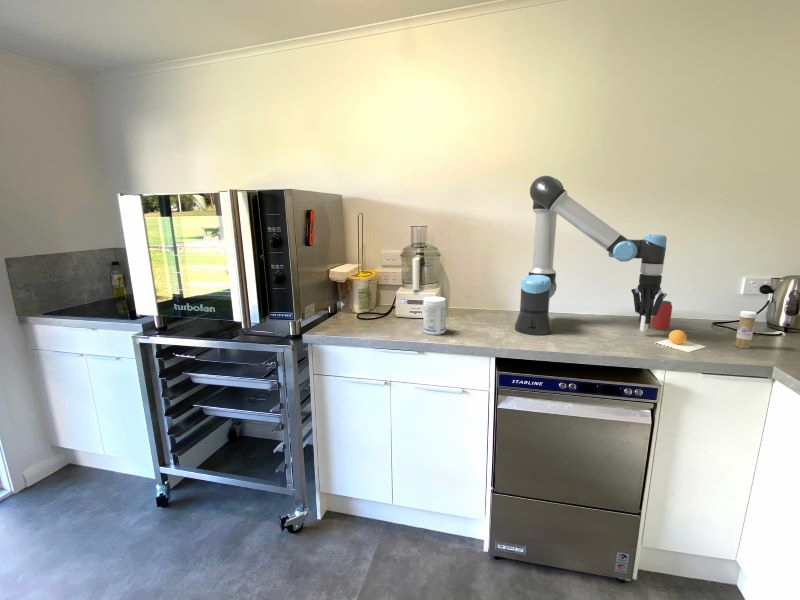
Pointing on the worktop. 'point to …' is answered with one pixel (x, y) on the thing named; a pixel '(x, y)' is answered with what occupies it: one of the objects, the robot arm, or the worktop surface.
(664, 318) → the beer can
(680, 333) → the ball
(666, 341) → the spiral notepad
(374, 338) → the worktop surface
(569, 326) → the worktop surface
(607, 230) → the robot arm
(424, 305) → the supplement tub
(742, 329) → the sprinkles bottle
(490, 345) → the worktop surface
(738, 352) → the worktop surface
